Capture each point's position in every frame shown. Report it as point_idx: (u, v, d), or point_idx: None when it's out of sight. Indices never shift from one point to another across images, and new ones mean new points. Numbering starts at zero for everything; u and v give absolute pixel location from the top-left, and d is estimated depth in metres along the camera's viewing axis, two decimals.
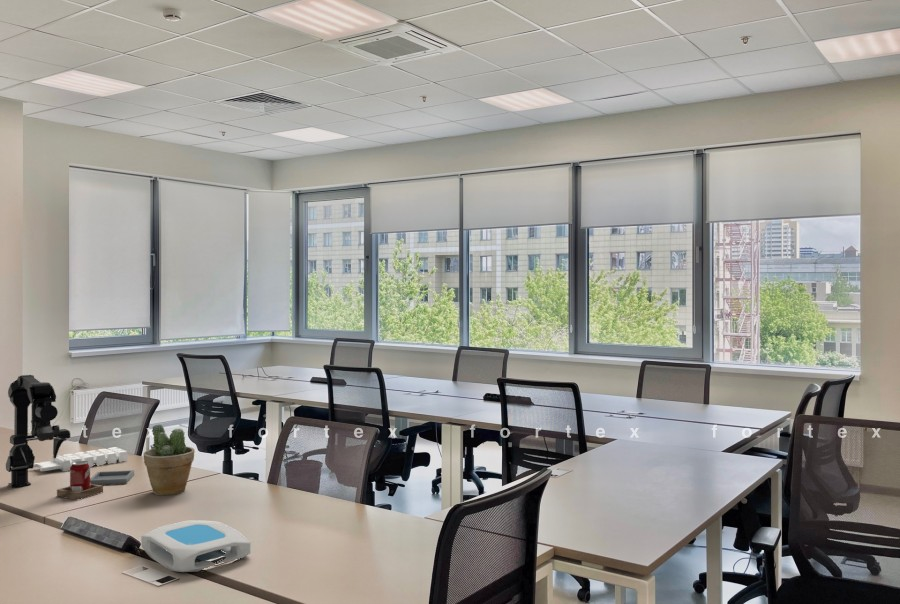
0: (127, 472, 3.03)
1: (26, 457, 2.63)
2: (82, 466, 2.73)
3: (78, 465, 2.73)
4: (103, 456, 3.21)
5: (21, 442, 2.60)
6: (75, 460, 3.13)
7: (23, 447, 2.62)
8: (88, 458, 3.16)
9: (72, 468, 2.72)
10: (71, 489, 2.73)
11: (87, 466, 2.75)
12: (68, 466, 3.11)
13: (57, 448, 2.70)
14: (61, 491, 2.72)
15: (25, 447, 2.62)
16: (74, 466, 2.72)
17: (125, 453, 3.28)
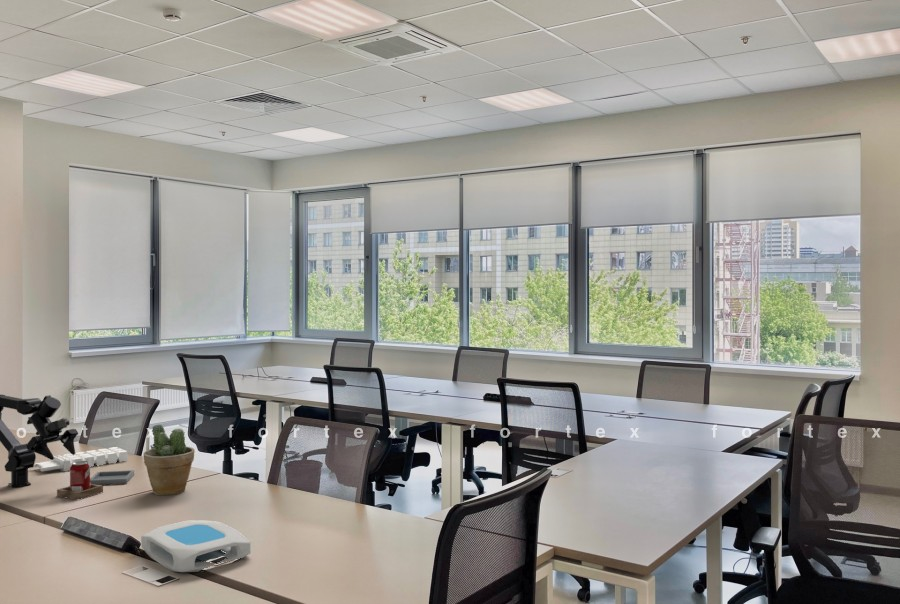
0: (127, 472, 3.03)
1: (51, 454, 2.74)
2: (82, 466, 2.73)
3: (78, 465, 2.73)
4: (103, 456, 3.21)
5: (40, 438, 2.73)
6: (75, 460, 3.13)
7: (44, 444, 2.74)
8: (88, 458, 3.17)
9: (72, 468, 2.72)
10: (71, 489, 2.73)
11: (87, 466, 2.75)
12: (68, 466, 3.11)
13: (72, 444, 2.84)
14: (61, 491, 2.72)
15: (45, 444, 2.74)
16: (74, 466, 2.72)
17: (125, 453, 3.28)
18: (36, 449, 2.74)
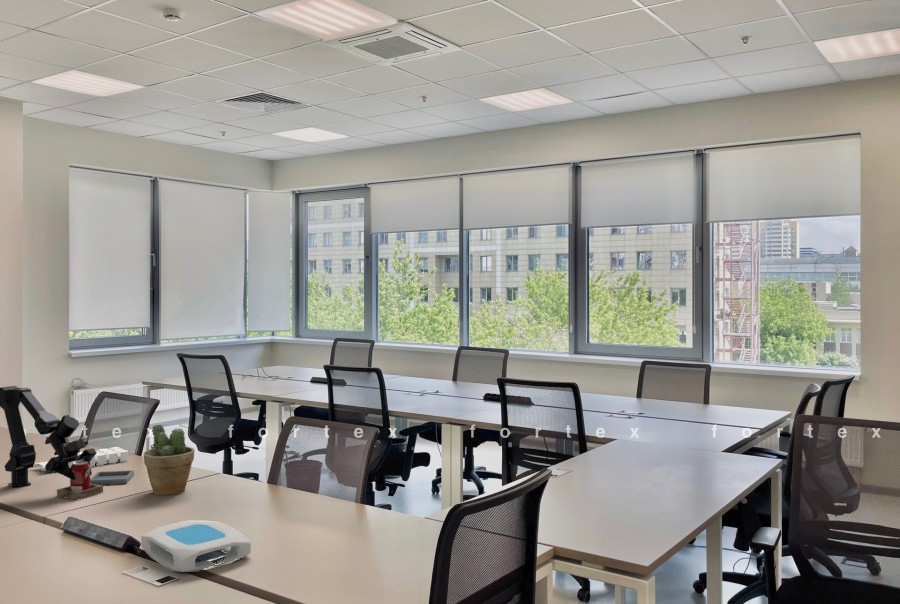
0: (127, 472, 3.03)
1: (72, 474, 2.71)
2: (82, 466, 2.73)
3: (78, 465, 2.73)
4: (104, 456, 3.21)
5: (59, 459, 2.69)
6: None
7: (65, 464, 2.71)
8: None
9: (72, 468, 2.72)
10: (71, 489, 2.73)
11: (87, 466, 2.75)
12: (69, 466, 3.11)
13: None
14: (61, 491, 2.72)
15: (67, 464, 2.72)
16: (74, 466, 2.72)
17: (126, 453, 3.28)
18: (57, 469, 2.71)
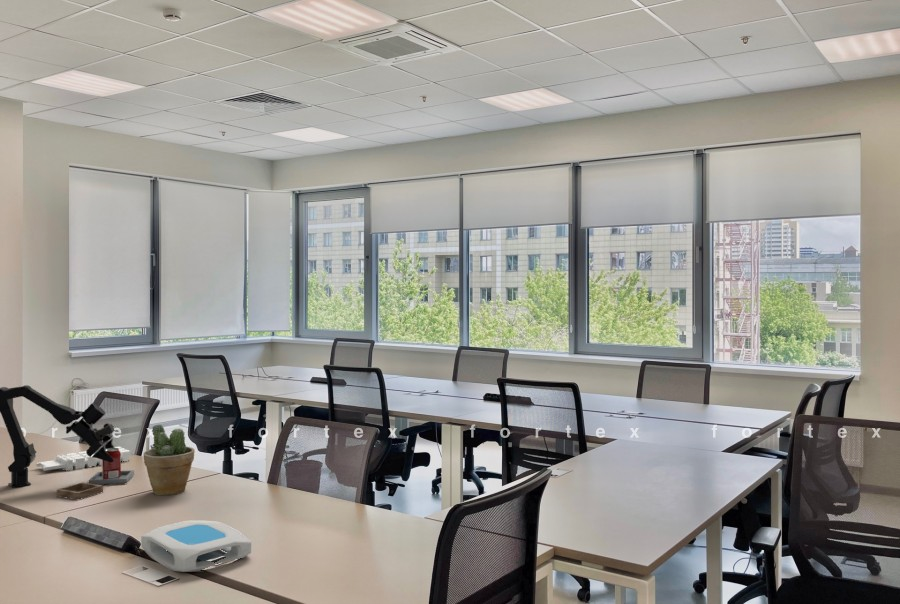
0: (127, 472, 3.03)
1: (110, 456, 2.91)
2: (117, 452, 2.95)
3: (114, 451, 2.94)
4: None
5: (101, 443, 2.88)
6: (78, 459, 3.14)
7: (104, 448, 2.89)
8: (91, 457, 3.17)
9: (109, 454, 2.92)
10: (107, 474, 2.92)
11: (119, 451, 2.97)
12: (71, 465, 3.12)
13: None
14: (61, 491, 2.72)
15: (104, 448, 2.90)
16: (110, 452, 2.93)
17: (128, 453, 3.28)
18: (96, 454, 2.88)
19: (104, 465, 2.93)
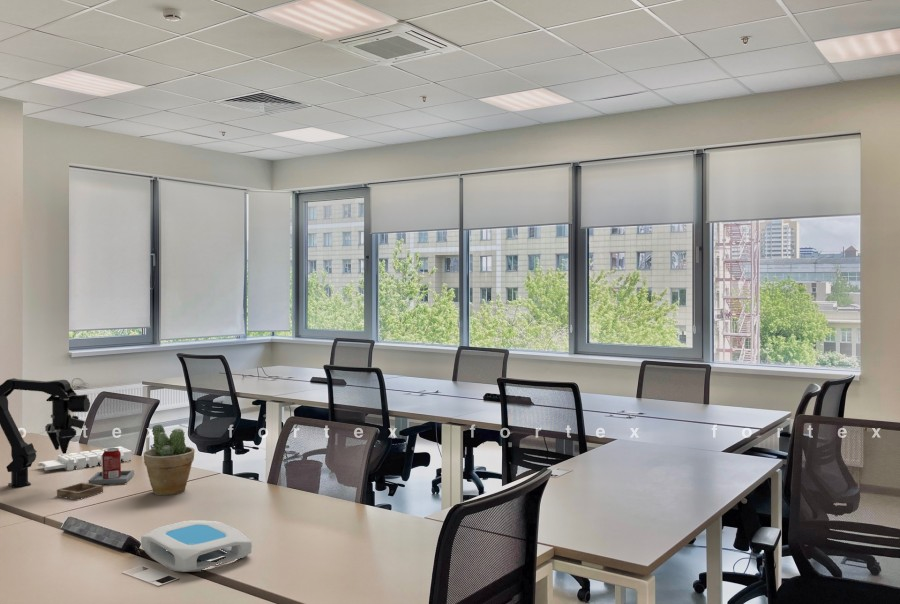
0: (127, 472, 3.03)
1: None
2: (117, 452, 2.95)
3: (114, 451, 2.94)
4: None
5: None
6: (79, 459, 3.14)
7: None
8: (92, 457, 3.18)
9: (109, 454, 2.92)
10: (107, 474, 2.92)
11: (119, 451, 2.97)
12: (72, 465, 3.12)
13: None
14: (61, 491, 2.72)
15: None
16: (110, 452, 2.93)
17: (129, 453, 3.29)
18: (63, 438, 2.83)
19: (104, 465, 2.93)
